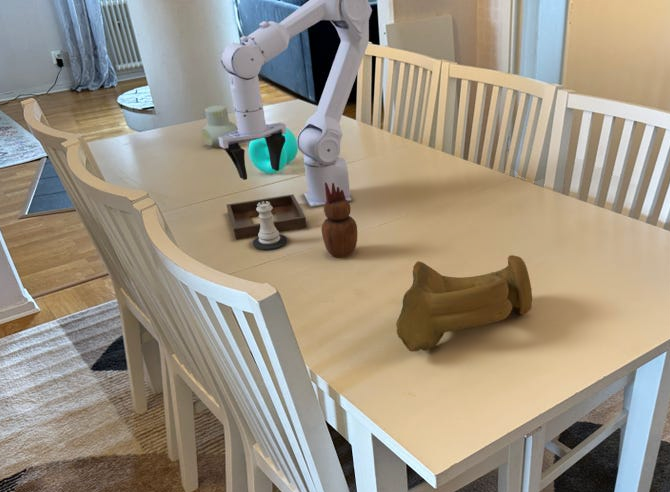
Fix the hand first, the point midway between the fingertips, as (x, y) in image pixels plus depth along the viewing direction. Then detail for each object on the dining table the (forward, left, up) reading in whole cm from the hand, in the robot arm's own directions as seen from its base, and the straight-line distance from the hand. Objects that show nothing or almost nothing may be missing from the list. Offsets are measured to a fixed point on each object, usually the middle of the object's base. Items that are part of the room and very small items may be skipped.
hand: (259, 173), depth 146 cm
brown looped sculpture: (-23, +59, -10) cm, 64 cm away
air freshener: (+4, -55, -10) cm, 56 cm away
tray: (0, +3, -9) cm, 10 cm away
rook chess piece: (+2, +15, -9) cm, 17 cm away
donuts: (-7, -29, -10) cm, 31 cm away
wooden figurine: (-11, +25, -10) cm, 29 cm away
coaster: (+2, +15, -9) cm, 17 cm away
